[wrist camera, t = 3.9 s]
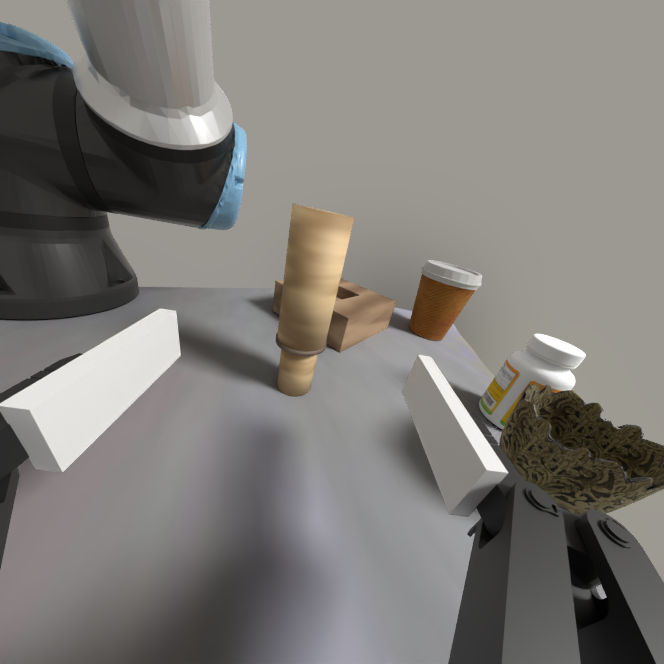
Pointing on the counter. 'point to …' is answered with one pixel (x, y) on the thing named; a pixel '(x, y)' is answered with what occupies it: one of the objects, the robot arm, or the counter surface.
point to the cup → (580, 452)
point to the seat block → (351, 314)
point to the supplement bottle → (530, 375)
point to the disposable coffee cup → (441, 298)
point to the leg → (309, 292)
